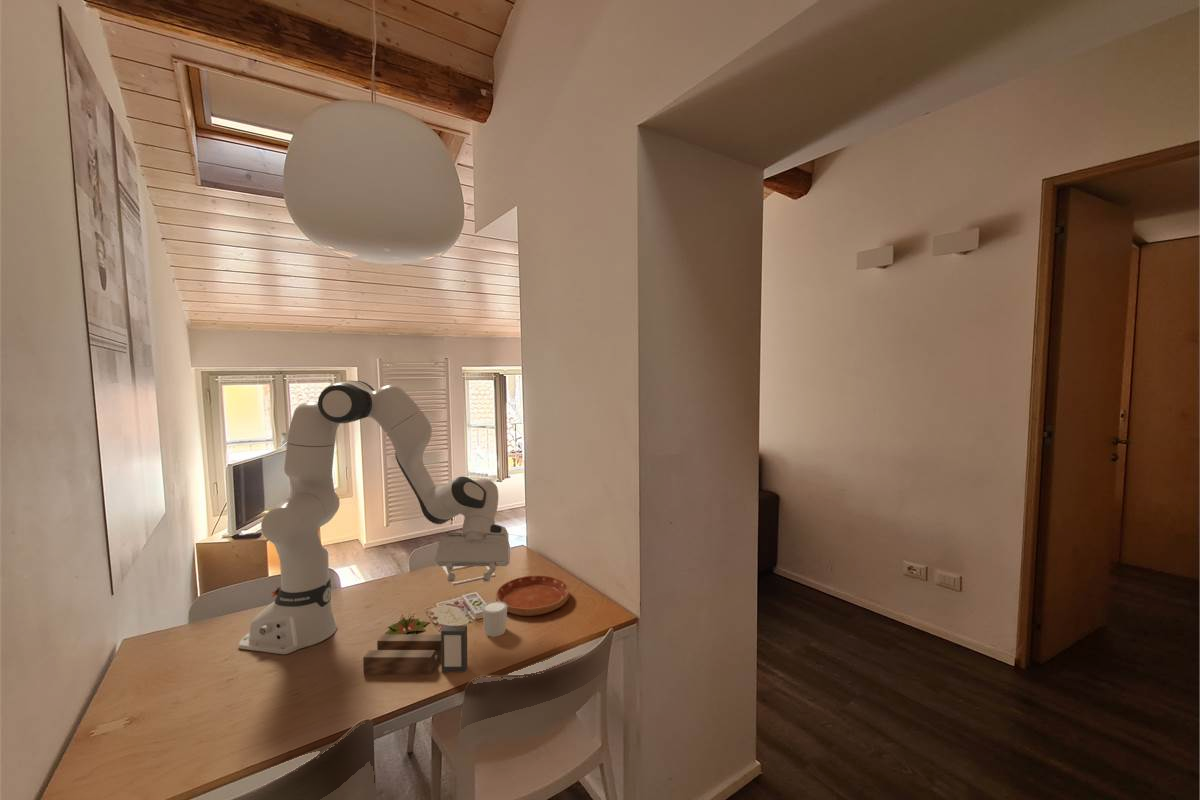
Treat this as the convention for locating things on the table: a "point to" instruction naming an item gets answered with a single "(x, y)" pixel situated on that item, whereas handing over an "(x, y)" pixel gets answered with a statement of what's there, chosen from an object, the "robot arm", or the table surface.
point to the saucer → (533, 595)
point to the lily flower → (405, 623)
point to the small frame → (454, 648)
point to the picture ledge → (403, 654)
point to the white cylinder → (494, 618)
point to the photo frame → (464, 580)
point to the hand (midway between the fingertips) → (468, 581)
